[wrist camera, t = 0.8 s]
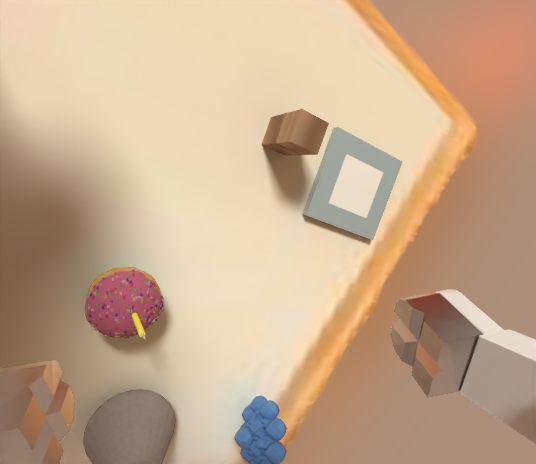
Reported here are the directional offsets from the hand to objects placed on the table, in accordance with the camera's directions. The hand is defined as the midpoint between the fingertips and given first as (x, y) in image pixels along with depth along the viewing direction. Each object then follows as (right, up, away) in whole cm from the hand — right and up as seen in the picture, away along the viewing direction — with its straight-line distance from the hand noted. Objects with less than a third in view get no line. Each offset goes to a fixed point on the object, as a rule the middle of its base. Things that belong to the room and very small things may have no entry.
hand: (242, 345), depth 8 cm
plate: (+14, +10, +48) cm, 51 cm away
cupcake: (-18, -5, +37) cm, 41 cm away
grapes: (-4, -26, +48) cm, 55 cm away
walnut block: (+2, +16, +41) cm, 44 cm away
